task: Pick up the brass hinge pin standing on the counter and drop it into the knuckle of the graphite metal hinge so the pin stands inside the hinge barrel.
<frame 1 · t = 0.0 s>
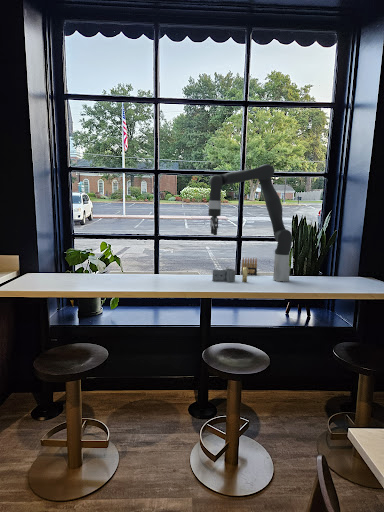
hand: (213, 234, 216), 29 cm above the table, tool pointing down, fingers open, 8 cm apart
hinge pin: (244, 281, 219), on the table
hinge: (229, 280, 221), on the table
ammunition clip: (248, 274, 242), on the table
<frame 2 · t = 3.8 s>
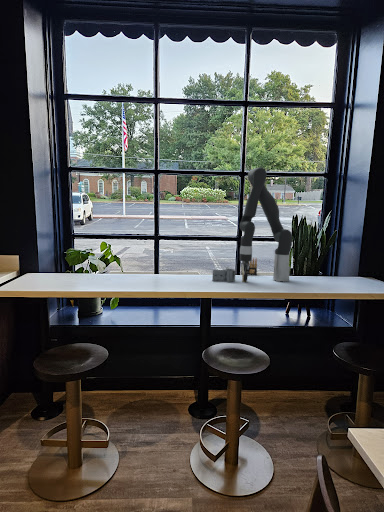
hand: (244, 280, 219), 1 cm above the table, tool pointing down, fingers closed on hinge pin, 3 cm apart
hinge pin: (244, 281, 219), on the table, touching gripper
everything else where it was.
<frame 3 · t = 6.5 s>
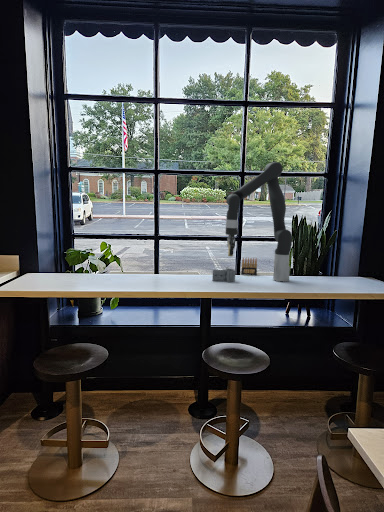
hand: (230, 254, 219), 17 cm above the table, tool pointing down, fingers closed on hinge pin, 3 cm apart
hinge pin: (230, 256, 219), point 16 cm above the table, touching gripper
everything else where it was.
when the fingers open (10 cm above the table, at t = 9.1 s): hinge pin drops 8 cm, resting in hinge.
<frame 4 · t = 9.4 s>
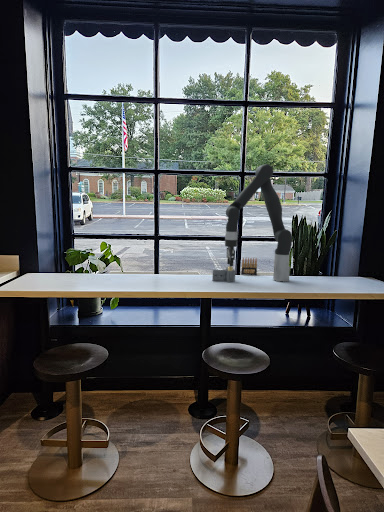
hand: (230, 265, 220), 10 cm above the table, tool pointing down, fingers open, 6 cm apart
hinge pin: (229, 280, 221), resting in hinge
everything else where it was.
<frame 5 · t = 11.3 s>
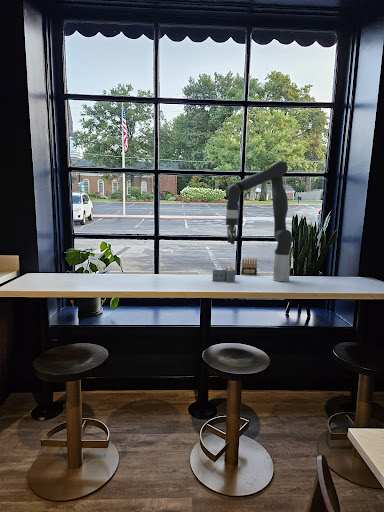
hand: (231, 243, 218), 24 cm above the table, tool pointing down, fingers open, 8 cm apart
nothing on the table moved.
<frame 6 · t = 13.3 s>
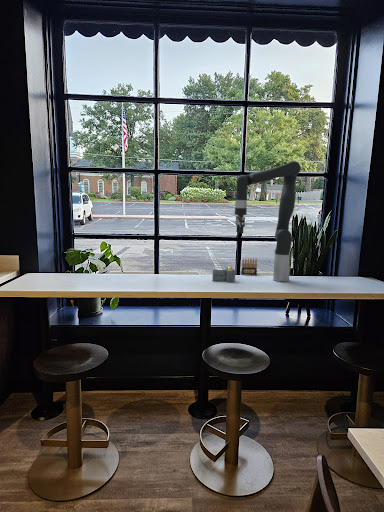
hand: (239, 232, 224), 30 cm above the table, tool pointing down, fingers open, 8 cm apart
nothing on the table moved.
at the end: hinge pin 0.1 cm from the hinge (horizontally); hinge pin tilted 0°; the gripper is holding nothing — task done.
